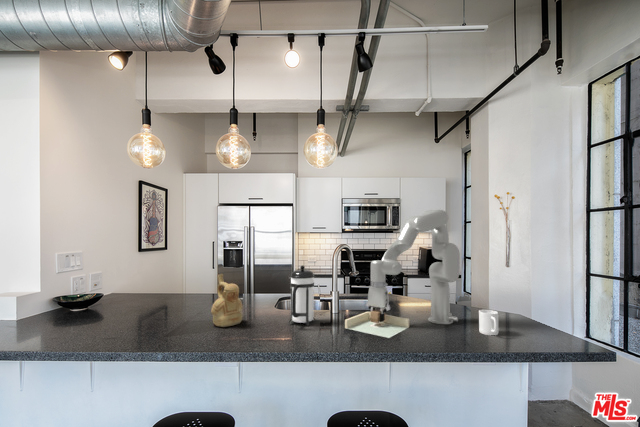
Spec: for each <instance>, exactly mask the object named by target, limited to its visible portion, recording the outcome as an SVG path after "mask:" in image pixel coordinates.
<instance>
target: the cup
mask: <svg viewBox="0 0 640 427" xmlns="http://www.w3.org/2000/svg"><path fill="white" fill-rule="evenodd" d="M478 329H479V333H480V334H483V335H485V336H491V335H495V336H498V335H499V312H498V311H497V310H492V309H479V310H478Z"/></svg>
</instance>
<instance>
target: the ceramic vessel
mask: <svg viewBox="0 0 640 427" xmlns="http://www.w3.org/2000/svg"><path fill="white" fill-rule="evenodd" d="M217 279H218V281H217V282H218V284H217V289H216V291H217V297H218V298H217V299H216V300H214V303H213V304H212V305H211V311H210V313H211V314H212V322H213V325H214V326H216V327H221V328H227V327H231V326H236V325H240V323H241V322H242V320H243V313H242V311H243V308H244V307H243V303H242V300H241V299H240V298H239V296H240V294H239V293H240V288H239V286H238V285H237V284H235V283H233V282H232V283H227V282H225V279H224V274H223V273H220V274H217Z"/></svg>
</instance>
